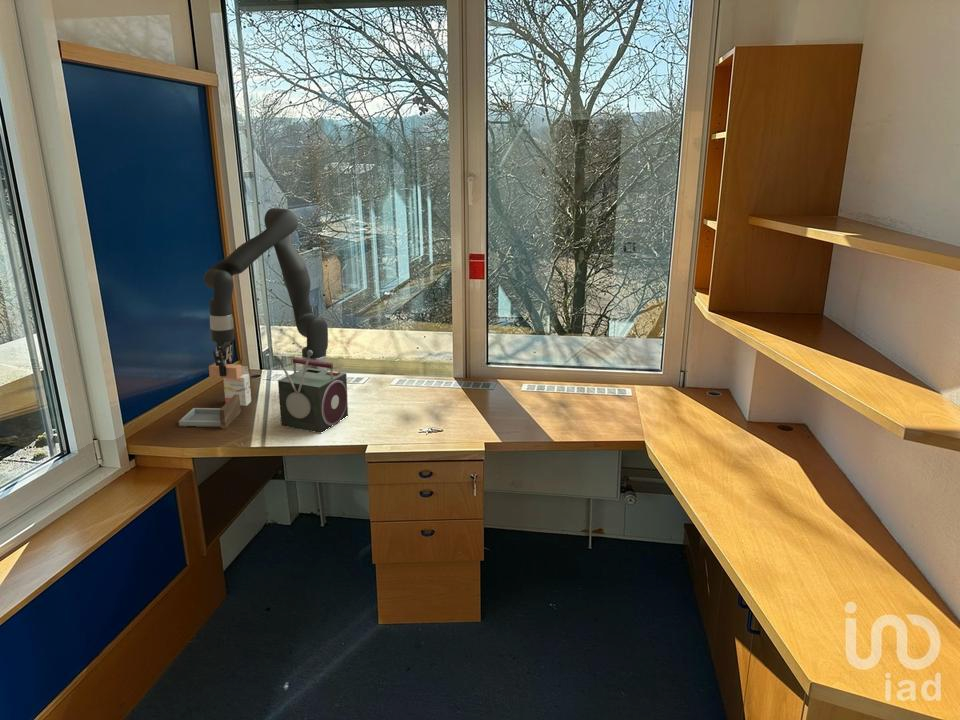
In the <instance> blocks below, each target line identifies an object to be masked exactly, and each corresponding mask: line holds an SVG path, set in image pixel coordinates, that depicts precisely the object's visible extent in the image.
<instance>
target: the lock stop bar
mask: <svg viewBox="0 0 960 720" xmlns="http://www.w3.org/2000/svg"><path fill="white" fill-rule="evenodd" d="M241 366H242V364H236V363H235V364H232V363H231V364H226V373H227V375H226V376H225V377H222V376H220V373H219V366H216V363H215V362H214V363H212V364H210V365H208V371H209V372H208V373H209V378H217V379H223V378H229V379H238V378H239V377H241V376H242V367H241Z"/></svg>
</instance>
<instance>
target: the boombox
mask: <svg viewBox="0 0 960 720" xmlns="http://www.w3.org/2000/svg"><path fill="white" fill-rule="evenodd" d="M312 354H313V352H312V351H311V350H308V351H307V355H308V357H307V359H302V357H301V358H300V357H293V356H292V366H293V373H291V374H289V373H288V371H287V368H286V367H285V365H284V363H283V361H282V360H283V357H282V356H281V355H277V356H276V357H275V361H276V362H279V364H280V366H281V368H282V370H283V371H284V374H285V377H282V378H281V379H278V380H277V385H278V386H277V388H278V397H279V398H278V400H279V402H278V403H279V415H280V426H281V427H285V428H286V427H287V428H292V429H296V430H301V429H302V431H307V430H308V432H312V431H315V432H314V433H317V432H323V431H325V430H326V429H328V428H329V427H331V426H332V425H334V426H336V425H337V424H339V423H340V422H339V421H340V420H342V419H343V418H345V417H346V416H348V417H349V407H348V405H349V404H348V382H347V381H348V380H347V379H348V378H347V375H348V374H347V373H346V372H341V371H338V370H333V368H334V364H333V362H329V361H326V362H322V361H315V360H309V358H310V356H311V355H312ZM297 364H299V365H303V364H305V367H304V369H303V368H302V369H300V370H298V371H297ZM307 365H311V366H318V367H324V368H327V370H322V369H315V368H308V367H307ZM328 369H329V370H328ZM345 419H346V418H345ZM342 421H343V420H342ZM338 422H339V423H338ZM336 423H337V424H336ZM335 424H336V425H335ZM331 428H332V427H331ZM328 430H329V429H328ZM326 431H327V430H326ZM326 431H325V432H326ZM323 433H324V432H323Z"/></svg>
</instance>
